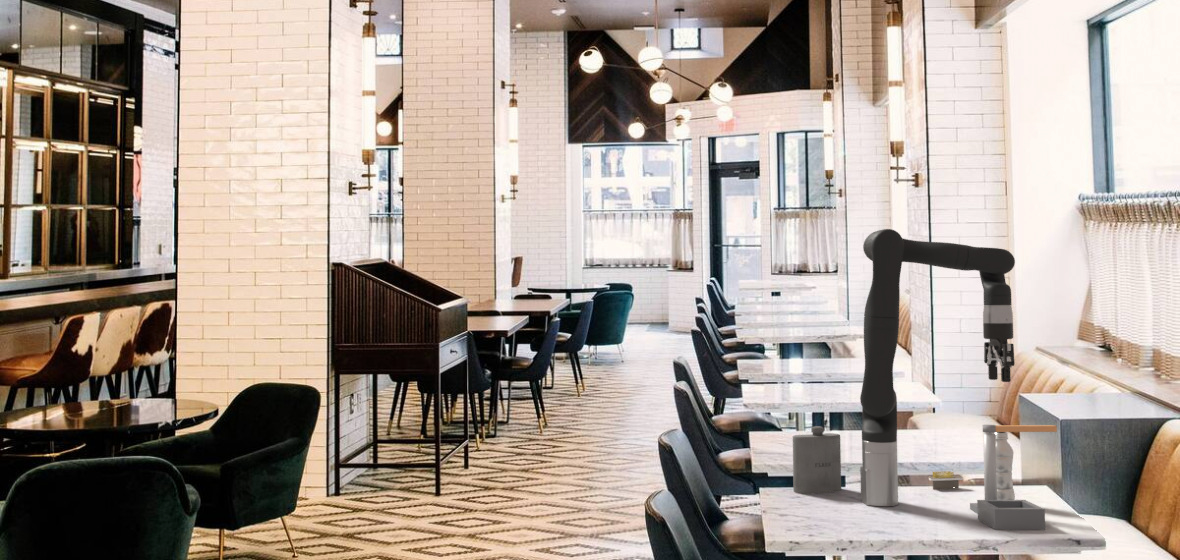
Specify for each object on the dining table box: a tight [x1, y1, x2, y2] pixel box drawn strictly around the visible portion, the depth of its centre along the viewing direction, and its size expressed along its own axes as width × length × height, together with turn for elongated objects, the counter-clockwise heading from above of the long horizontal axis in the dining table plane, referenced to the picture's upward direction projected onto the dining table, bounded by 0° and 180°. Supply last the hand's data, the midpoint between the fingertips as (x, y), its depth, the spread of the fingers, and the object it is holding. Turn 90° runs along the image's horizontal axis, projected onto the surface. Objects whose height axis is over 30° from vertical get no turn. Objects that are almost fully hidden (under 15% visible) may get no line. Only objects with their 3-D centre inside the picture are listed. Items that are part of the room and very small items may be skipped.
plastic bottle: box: [995, 432, 1016, 500], centre depth 250 cm, size 6×7×20 cm
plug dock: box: [969, 432, 1046, 531], centre depth 234 cm, size 12×22×21 cm, turn 178°
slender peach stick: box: [982, 424, 1058, 433], centre depth 240 cm, size 19×3×2 cm, turn 87°
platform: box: [928, 470, 964, 491], centre depth 268 cm, size 12×18×7 cm, turn 97°
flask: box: [792, 425, 842, 495], centre depth 266 cm, size 15×6×20 cm, turn 107°
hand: (999, 380), depth 251 cm, fingers open, 8 cm apart
